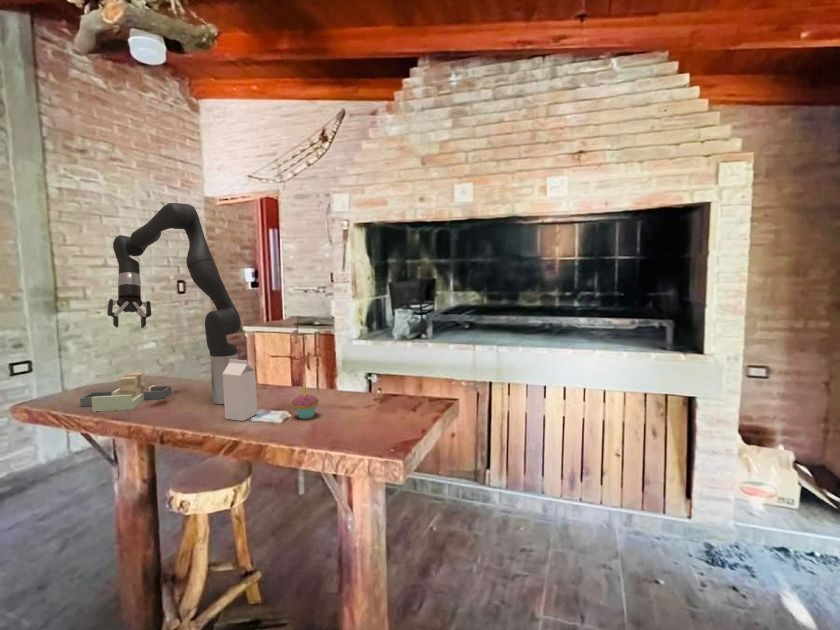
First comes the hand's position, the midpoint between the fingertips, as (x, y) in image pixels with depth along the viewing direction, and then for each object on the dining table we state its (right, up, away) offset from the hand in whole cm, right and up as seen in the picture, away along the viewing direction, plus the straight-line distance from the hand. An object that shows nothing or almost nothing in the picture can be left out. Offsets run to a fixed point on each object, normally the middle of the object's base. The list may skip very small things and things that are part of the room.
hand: (130, 327), depth 188 cm
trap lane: (+2, -27, -5) cm, 27 cm away
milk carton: (+51, -29, -25) cm, 64 cm away
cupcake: (+72, -29, -25) cm, 81 cm away
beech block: (+1, -26, +1) cm, 26 cm away
